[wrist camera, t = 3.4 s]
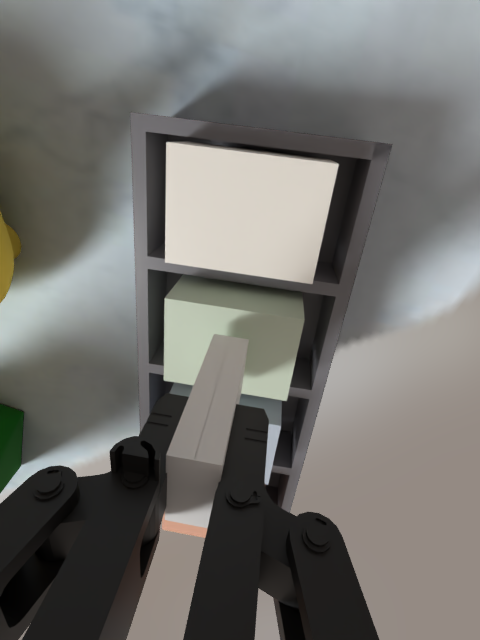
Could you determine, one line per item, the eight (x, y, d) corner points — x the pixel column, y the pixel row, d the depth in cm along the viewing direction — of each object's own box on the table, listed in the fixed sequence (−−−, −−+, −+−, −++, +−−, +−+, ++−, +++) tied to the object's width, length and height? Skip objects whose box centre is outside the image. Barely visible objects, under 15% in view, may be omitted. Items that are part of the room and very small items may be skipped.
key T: (183, 274, 18) (164, 298, 15) (302, 292, 17) (304, 319, 15) (180, 348, 20) (163, 380, 17) (286, 365, 19) (286, 401, 17)
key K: (179, 371, 21) (163, 405, 18) (282, 388, 20) (281, 426, 18) (177, 427, 23) (162, 465, 20) (270, 443, 22) (268, 484, 20)
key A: (187, 141, 15) (166, 141, 12) (330, 159, 15) (339, 163, 12) (184, 243, 17) (164, 262, 14) (308, 260, 17) (312, 284, 14)
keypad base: (169, 118, 18) (130, 112, 14) (366, 142, 18) (392, 144, 13) (164, 450, 29) (142, 506, 25) (284, 472, 29) (284, 533, 24)
